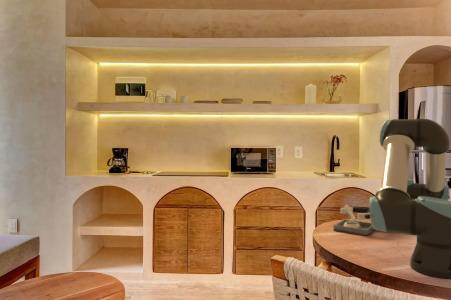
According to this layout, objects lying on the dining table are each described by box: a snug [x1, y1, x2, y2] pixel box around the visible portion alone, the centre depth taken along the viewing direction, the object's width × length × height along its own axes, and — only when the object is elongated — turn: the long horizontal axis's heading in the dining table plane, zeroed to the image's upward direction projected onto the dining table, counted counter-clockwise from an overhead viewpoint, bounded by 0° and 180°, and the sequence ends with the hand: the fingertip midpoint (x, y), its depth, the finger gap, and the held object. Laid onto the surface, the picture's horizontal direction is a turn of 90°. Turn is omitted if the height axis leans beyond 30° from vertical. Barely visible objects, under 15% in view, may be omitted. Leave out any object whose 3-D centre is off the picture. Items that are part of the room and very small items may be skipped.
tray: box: [333, 219, 375, 237], centre depth 162 cm, size 15×15×2 cm
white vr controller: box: [344, 204, 360, 228], centre depth 166 cm, size 8×12×7 cm
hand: (348, 213), depth 161 cm, fingers open, 13 cm apart
